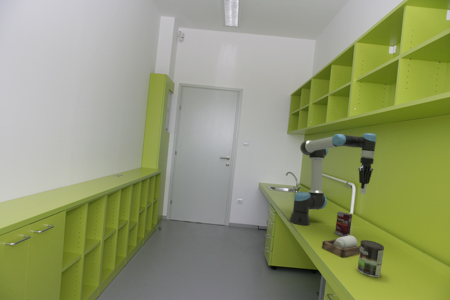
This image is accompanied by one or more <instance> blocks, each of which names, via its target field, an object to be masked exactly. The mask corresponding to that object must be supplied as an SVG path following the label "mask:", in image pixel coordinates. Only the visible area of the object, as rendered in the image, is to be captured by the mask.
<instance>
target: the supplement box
mask: <svg viewBox="0 0 450 300" xmlns="http://www.w3.org/2000/svg"><path fill="white" fill-rule="evenodd" d="M336 214H337V215H336V222H335V223H336V224H335V230H334V234H335V235H337V236H340V237H344V236H348V235H351V227H352V219H353V214H352V213H347V212H345V211H337V212H336Z"/></svg>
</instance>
